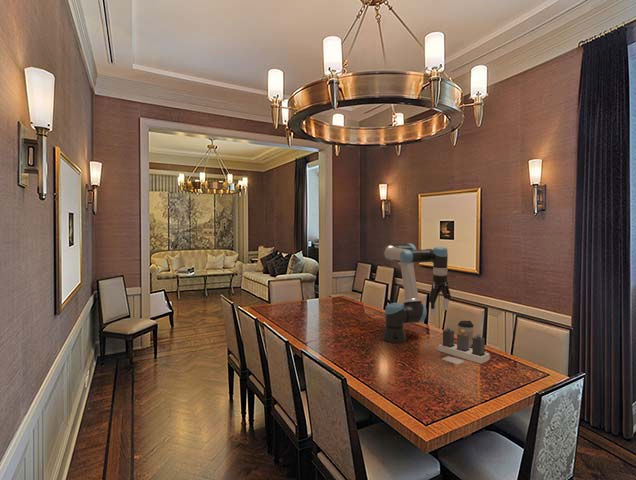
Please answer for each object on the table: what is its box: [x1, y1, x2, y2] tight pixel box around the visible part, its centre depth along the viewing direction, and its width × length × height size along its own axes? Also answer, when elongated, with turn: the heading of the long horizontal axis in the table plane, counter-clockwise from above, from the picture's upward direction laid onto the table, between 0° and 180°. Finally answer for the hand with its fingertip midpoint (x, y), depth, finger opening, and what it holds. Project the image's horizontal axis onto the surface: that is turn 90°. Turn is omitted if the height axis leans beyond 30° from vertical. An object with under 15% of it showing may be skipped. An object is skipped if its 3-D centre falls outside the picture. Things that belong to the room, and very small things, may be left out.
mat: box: [441, 355, 465, 365], centre depth 193 cm, size 10×7×1 cm
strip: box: [437, 325, 491, 365], centre depth 200 cm, size 26×9×15 cm, turn 39°
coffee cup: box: [457, 320, 475, 348], centre depth 217 cm, size 9×9×15 cm
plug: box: [456, 330, 470, 352], centre depth 200 cm, size 4×4×14 cm
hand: (439, 312), depth 198 cm, fingers open, 13 cm apart
